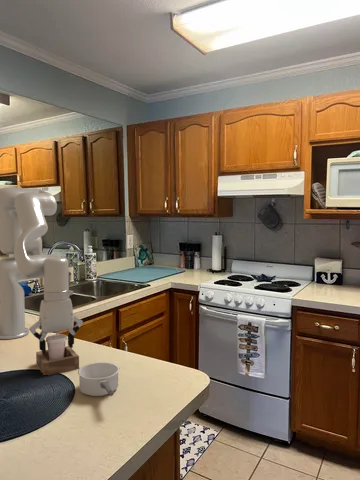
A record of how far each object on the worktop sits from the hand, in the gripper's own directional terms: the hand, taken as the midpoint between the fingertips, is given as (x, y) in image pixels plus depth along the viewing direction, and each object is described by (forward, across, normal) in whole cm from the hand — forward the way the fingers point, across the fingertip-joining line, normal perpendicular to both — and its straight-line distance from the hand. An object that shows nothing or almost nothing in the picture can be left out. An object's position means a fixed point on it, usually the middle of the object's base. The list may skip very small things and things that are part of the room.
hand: (57, 348), depth 117 cm
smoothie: (+6, 0, 0) cm, 6 cm away
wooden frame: (+6, 0, 0) cm, 6 cm away
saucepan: (+6, -5, +26) cm, 27 cm away
